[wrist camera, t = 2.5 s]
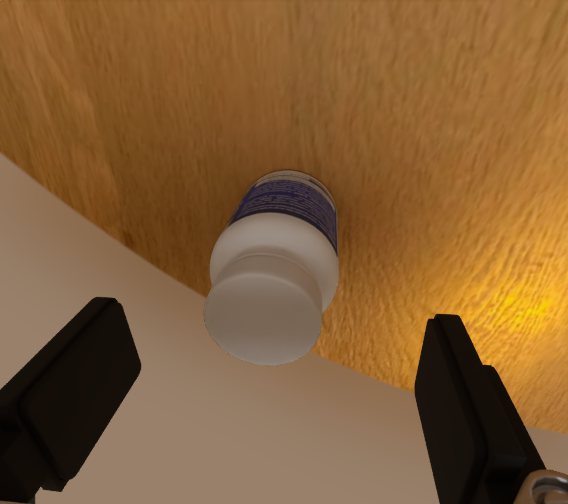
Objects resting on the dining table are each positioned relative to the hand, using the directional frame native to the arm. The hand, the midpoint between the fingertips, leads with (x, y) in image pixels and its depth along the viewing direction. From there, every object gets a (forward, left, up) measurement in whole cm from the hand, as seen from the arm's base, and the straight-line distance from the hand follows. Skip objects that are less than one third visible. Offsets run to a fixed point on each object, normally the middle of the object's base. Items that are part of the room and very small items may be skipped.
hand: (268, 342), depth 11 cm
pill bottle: (0, 0, -10) cm, 10 cm away
